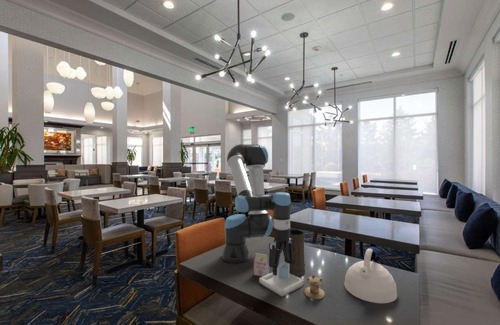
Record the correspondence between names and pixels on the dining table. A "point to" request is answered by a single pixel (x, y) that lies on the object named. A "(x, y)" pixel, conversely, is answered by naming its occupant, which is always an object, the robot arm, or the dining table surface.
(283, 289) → the tray
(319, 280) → the stand
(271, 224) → the robot arm
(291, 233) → the beer stein
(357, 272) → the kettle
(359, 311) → the dining table surface
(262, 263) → the white cardboard box
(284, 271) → the ball
